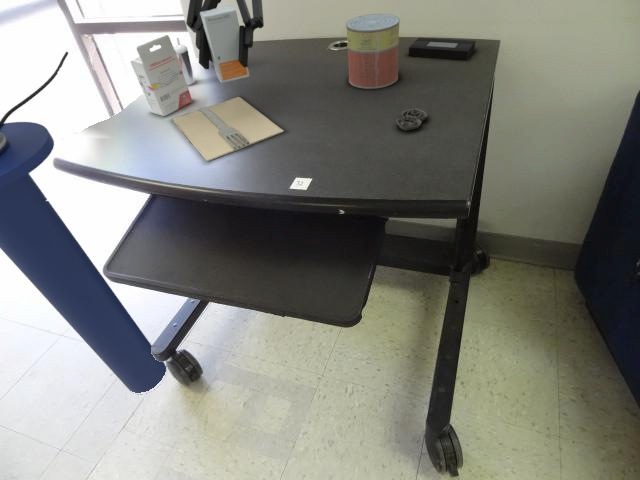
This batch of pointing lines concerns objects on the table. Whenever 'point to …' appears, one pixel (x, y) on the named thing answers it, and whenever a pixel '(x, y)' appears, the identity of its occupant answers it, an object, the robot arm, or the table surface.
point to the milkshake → (184, 62)
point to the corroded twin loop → (411, 119)
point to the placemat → (231, 115)
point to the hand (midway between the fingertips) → (223, 64)
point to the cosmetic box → (224, 42)
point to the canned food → (373, 50)
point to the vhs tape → (442, 48)
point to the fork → (225, 130)
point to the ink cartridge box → (161, 77)
